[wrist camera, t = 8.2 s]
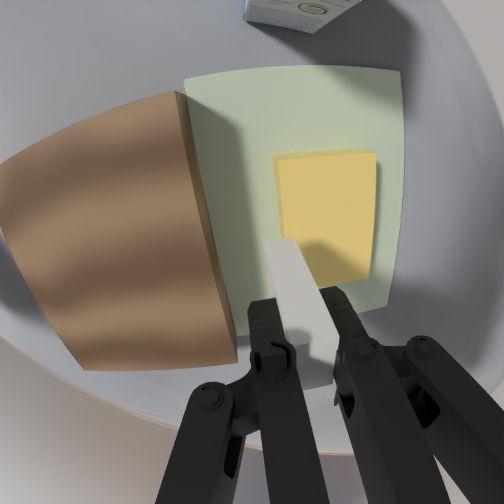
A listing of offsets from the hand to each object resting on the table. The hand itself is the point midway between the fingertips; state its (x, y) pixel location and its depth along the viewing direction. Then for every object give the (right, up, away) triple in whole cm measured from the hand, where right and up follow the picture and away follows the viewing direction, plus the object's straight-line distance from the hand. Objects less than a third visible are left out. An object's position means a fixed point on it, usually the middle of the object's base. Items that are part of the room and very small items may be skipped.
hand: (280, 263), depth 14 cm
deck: (-11, +1, +4) cm, 12 cm away
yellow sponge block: (+3, +2, +3) cm, 5 cm away
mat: (+3, +3, +5) cm, 6 cm away
